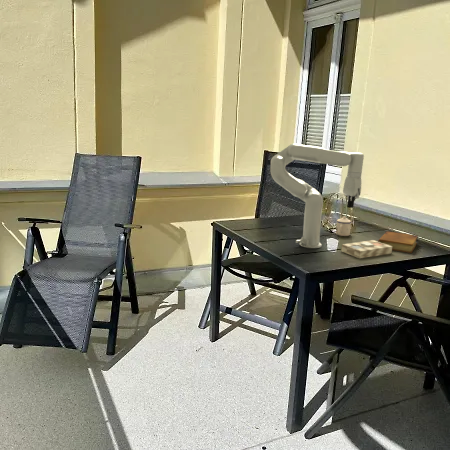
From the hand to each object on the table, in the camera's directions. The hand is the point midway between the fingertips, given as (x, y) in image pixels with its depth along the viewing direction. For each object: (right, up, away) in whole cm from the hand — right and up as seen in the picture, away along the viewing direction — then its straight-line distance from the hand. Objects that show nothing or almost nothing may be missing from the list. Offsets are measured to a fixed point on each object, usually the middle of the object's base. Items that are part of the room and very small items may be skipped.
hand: (350, 207), depth 250 cm
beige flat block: (+8, -25, -3) cm, 27 cm away
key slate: (+2, -25, -7) cm, 26 cm away
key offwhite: (+8, -23, -4) cm, 24 cm away
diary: (+32, -23, +12) cm, 41 cm away
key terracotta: (+15, -23, 0) cm, 28 cm away
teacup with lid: (+4, -16, +33) cm, 37 cm away
